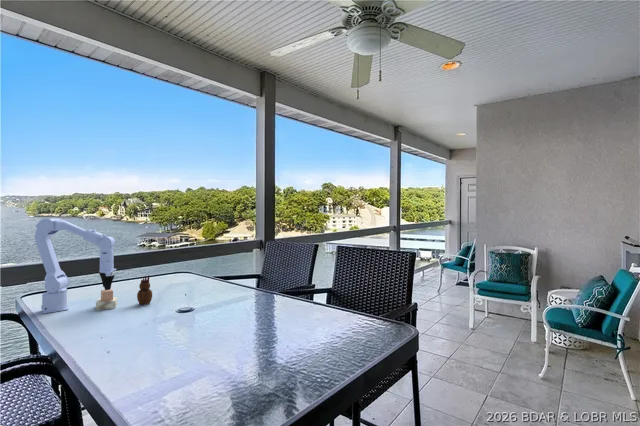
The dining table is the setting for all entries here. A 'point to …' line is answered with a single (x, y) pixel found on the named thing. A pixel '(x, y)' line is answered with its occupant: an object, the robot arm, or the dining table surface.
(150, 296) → the wooden figurine
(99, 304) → the birch block
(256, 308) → the dining table surface
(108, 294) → the terracotta cube
